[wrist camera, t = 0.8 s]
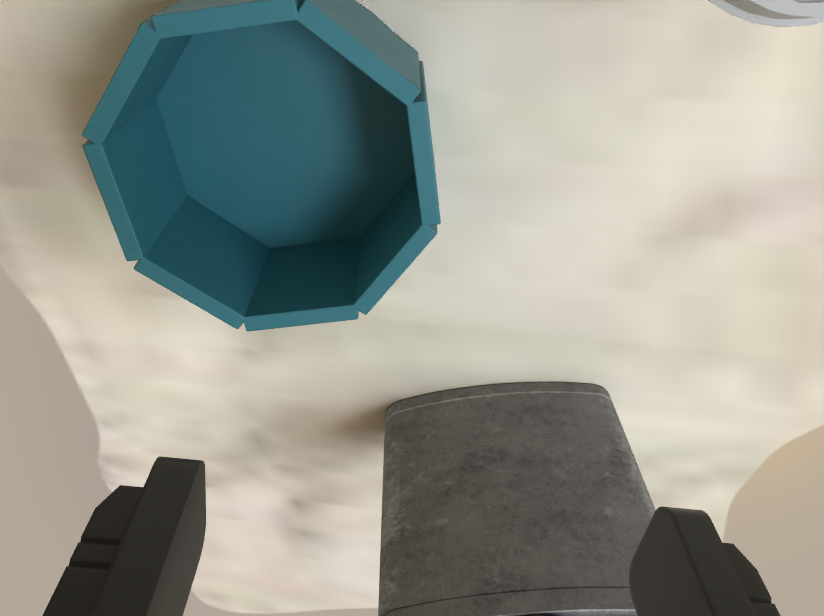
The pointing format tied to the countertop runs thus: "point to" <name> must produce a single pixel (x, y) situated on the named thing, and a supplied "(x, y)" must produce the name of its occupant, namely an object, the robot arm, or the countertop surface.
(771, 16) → the disposable coffee cup
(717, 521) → the countertop surface
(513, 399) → the flask
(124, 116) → the teal octagonal bowl
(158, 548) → the robot arm
